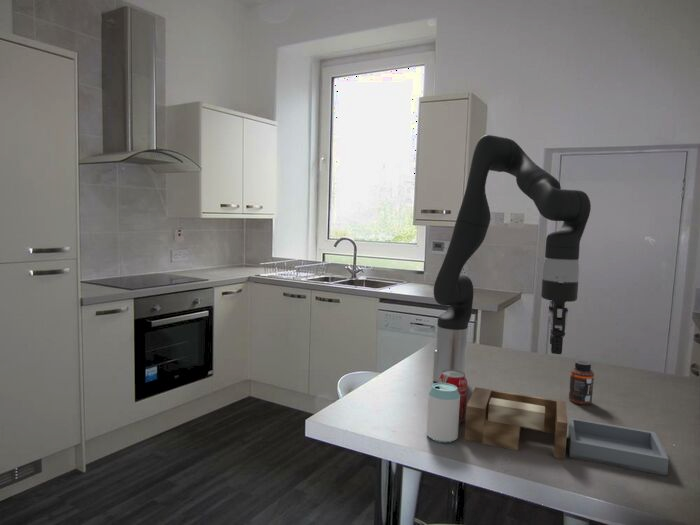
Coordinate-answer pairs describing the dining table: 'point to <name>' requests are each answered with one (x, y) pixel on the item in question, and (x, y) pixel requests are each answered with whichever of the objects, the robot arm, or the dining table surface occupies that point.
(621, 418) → the dining table surface
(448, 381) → the soda can
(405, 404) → the dining table surface
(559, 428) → the open wooden box frame
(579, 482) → the dining table surface
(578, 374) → the supplement bottle
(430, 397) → the can
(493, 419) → the slab
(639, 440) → the tray
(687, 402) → the dining table surface
